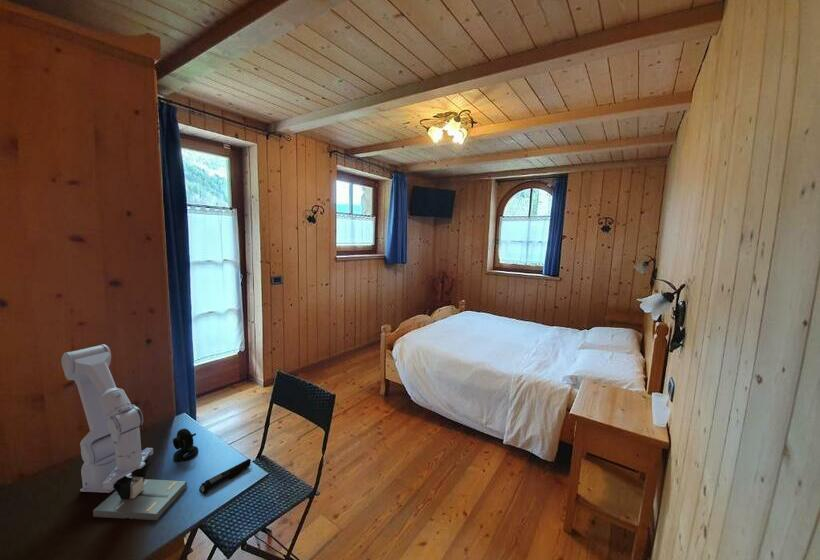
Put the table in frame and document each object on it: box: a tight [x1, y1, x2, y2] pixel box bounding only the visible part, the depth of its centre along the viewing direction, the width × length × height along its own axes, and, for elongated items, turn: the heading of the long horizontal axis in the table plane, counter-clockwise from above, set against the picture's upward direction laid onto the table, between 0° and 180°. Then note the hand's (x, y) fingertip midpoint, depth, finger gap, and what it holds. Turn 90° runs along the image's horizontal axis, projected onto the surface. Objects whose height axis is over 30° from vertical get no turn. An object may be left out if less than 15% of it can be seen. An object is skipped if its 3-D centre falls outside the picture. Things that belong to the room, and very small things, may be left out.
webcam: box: [172, 428, 199, 463], centre depth 116 cm, size 8×8×10 cm
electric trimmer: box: [198, 458, 252, 496], centre depth 106 cm, size 4×16×3 cm, turn 143°
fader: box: [128, 476, 144, 498], centre depth 96 cm, size 4×4×4 cm
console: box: [92, 478, 188, 521], centre depth 97 cm, size 18×12×2 cm, turn 89°
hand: (132, 492), depth 96 cm, fingers open, 4 cm apart
